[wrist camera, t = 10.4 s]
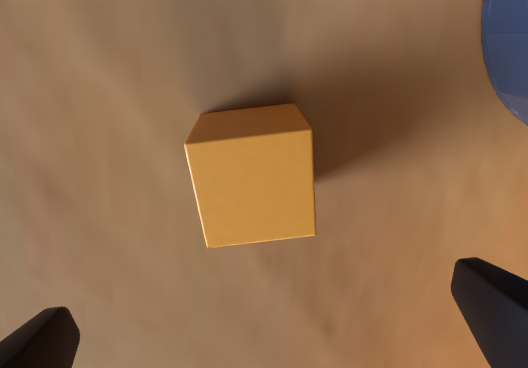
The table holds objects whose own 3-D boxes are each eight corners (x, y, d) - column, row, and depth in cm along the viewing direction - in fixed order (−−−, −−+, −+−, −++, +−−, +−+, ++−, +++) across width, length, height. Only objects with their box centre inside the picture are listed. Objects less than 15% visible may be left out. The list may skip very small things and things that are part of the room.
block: (299, 187, 17) (316, 236, 13) (215, 197, 17) (206, 249, 13) (294, 102, 15) (312, 128, 11) (199, 113, 15) (183, 143, 11)
